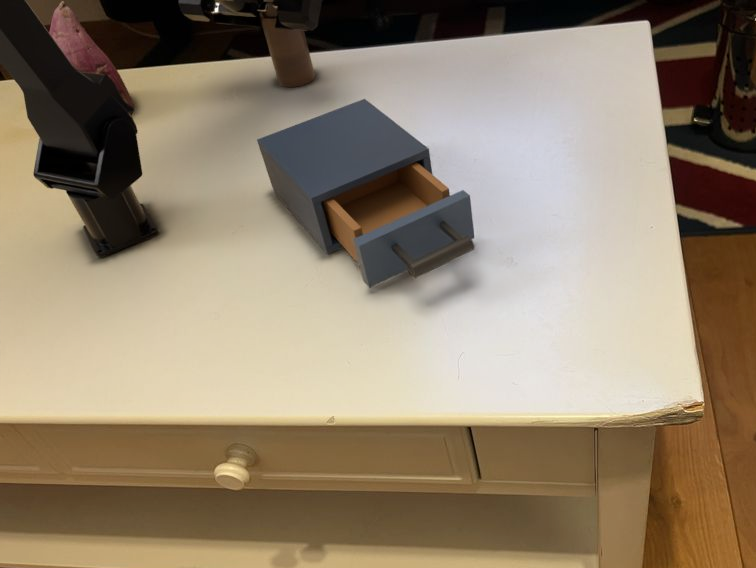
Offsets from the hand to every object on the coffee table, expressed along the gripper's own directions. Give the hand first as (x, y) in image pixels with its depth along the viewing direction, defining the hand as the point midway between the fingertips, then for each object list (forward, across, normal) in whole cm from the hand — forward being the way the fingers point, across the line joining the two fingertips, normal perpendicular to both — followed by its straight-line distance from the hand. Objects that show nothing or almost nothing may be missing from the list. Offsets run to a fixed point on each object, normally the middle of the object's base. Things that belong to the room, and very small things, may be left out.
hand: (289, 25), depth 95 cm
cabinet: (-13, -22, +22) cm, 33 cm away
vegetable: (-7, +22, +16) cm, 29 cm away
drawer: (-18, -30, +26) cm, 44 cm away
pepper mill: (+4, 0, +6) cm, 7 cm away
